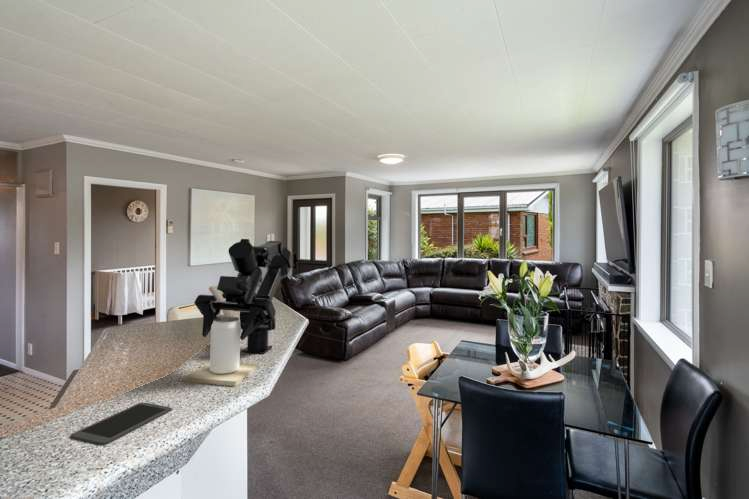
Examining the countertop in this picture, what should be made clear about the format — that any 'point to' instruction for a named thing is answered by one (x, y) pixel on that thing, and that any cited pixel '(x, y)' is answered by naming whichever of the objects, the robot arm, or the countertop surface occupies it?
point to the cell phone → (120, 423)
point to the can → (225, 345)
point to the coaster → (221, 375)
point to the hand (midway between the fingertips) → (222, 337)
